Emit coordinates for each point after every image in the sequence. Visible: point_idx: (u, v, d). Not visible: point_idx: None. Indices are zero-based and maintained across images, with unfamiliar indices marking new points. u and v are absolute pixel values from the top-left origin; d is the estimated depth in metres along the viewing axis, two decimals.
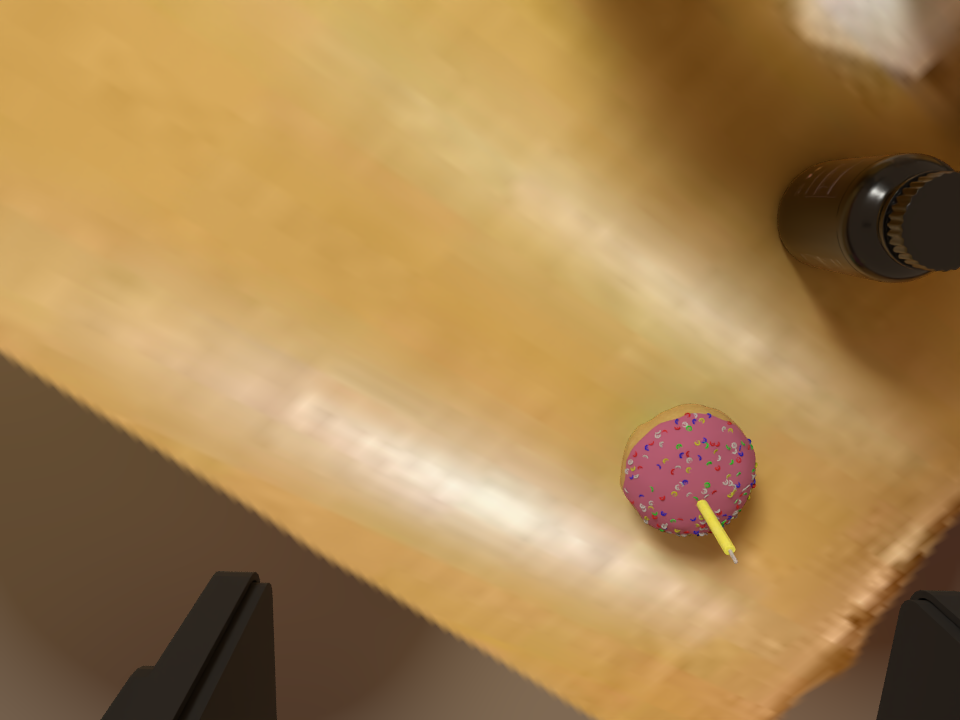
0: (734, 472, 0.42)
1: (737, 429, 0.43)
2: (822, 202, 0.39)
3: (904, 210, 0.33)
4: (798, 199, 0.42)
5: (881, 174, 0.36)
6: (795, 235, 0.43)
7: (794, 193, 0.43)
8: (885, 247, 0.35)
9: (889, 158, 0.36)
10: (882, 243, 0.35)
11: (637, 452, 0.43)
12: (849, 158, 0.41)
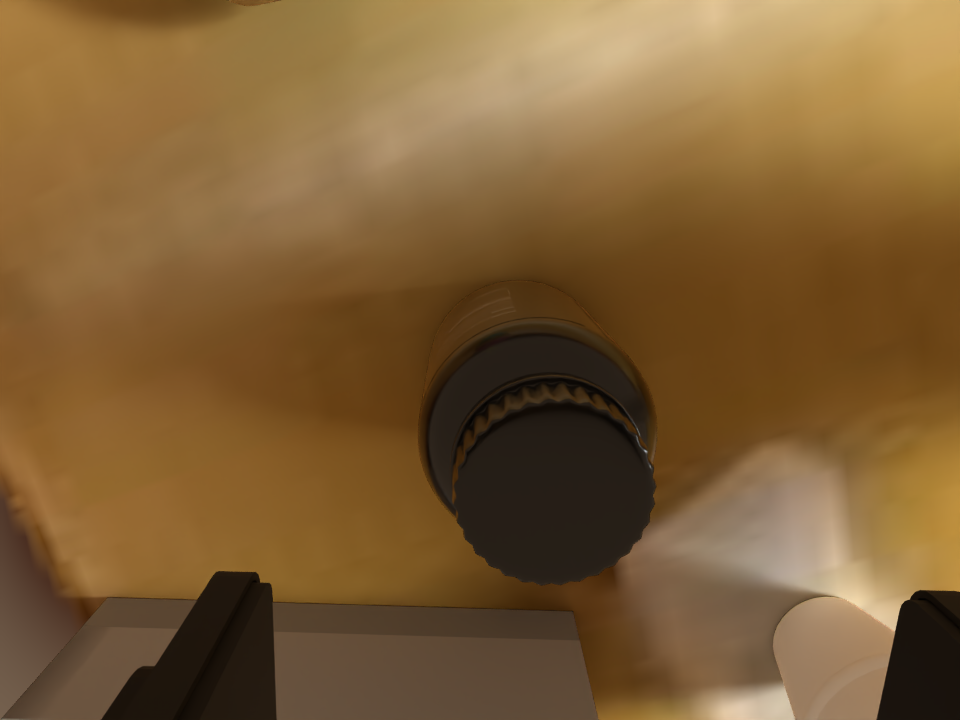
0: None
1: None
2: None
3: (629, 428, 0.16)
4: None
5: (650, 433, 0.19)
6: (545, 291, 0.24)
7: None
8: (553, 374, 0.17)
9: (653, 459, 0.20)
10: (561, 373, 0.17)
11: None
12: None
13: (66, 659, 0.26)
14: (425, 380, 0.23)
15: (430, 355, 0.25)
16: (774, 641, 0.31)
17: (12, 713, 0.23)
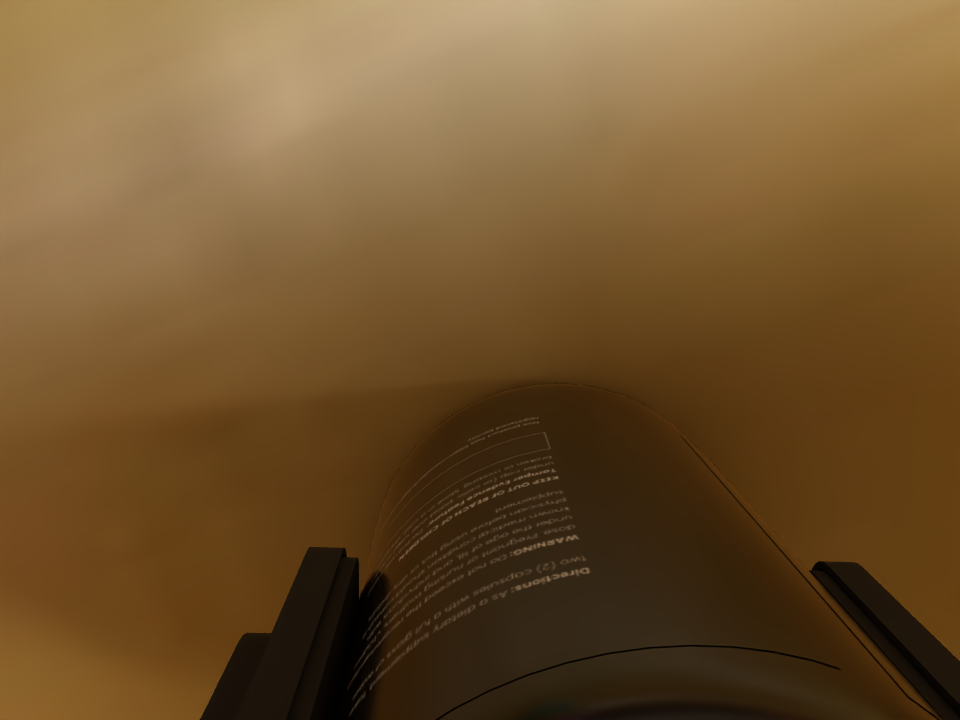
0: None
1: None
2: (847, 613, 0.08)
3: None
4: None
5: None
6: (629, 432, 0.10)
7: None
8: None
9: None
10: None
11: None
12: None
13: None
14: (340, 682, 0.09)
15: (366, 570, 0.11)
16: None
17: None
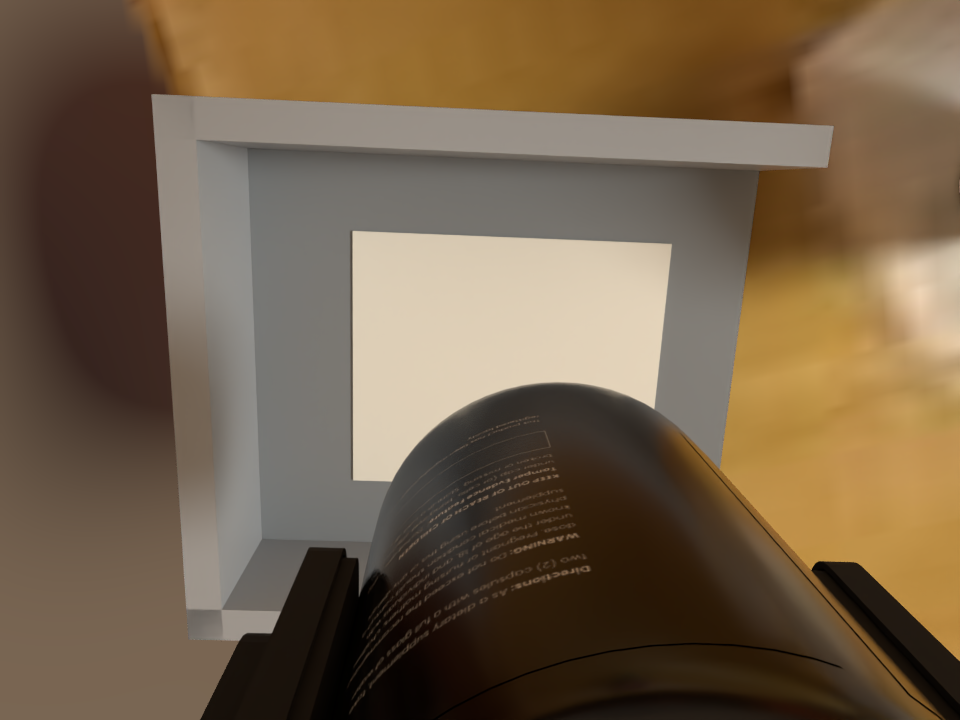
0: None
1: None
2: None
3: None
4: None
5: None
6: (629, 430, 0.10)
7: None
8: None
9: None
10: None
11: None
12: None
13: None
14: None
15: (365, 569, 0.11)
16: None
17: None
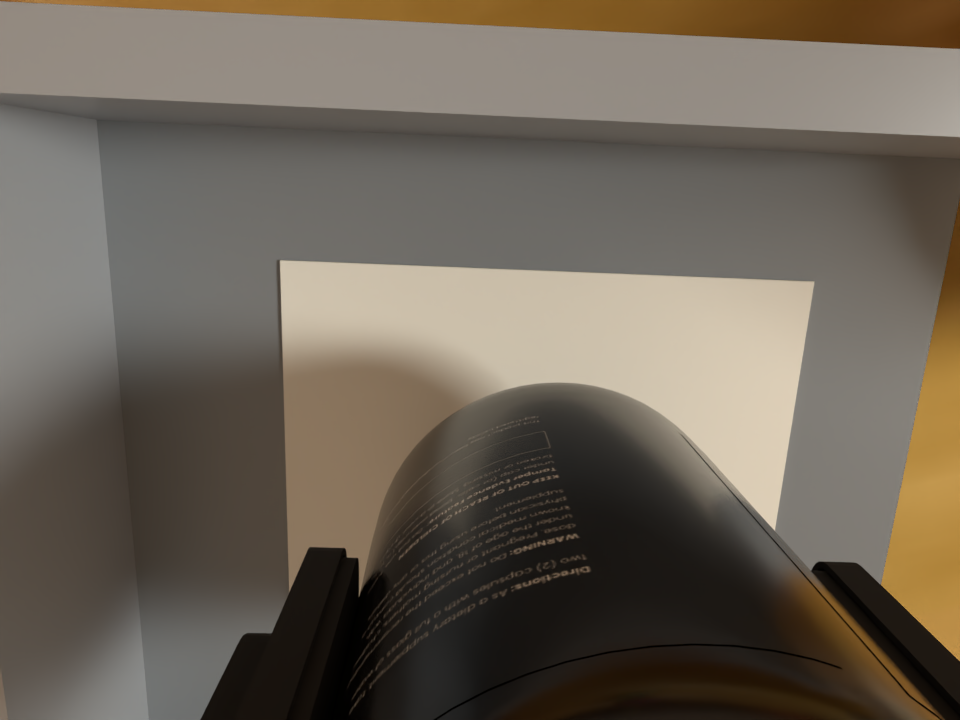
0: None
1: None
2: (848, 612, 0.08)
3: None
4: None
5: None
6: (629, 430, 0.10)
7: None
8: None
9: None
10: None
11: None
12: None
13: None
14: None
15: (365, 569, 0.11)
16: None
17: None
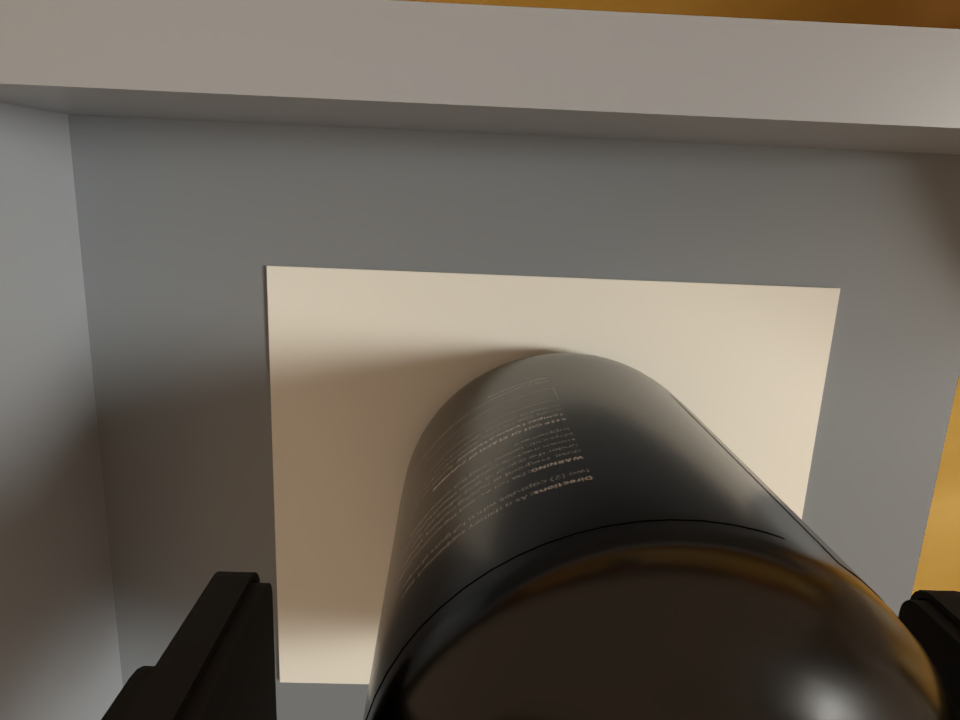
0: None
1: None
2: (802, 521, 0.09)
3: None
4: None
5: None
6: (625, 387, 0.12)
7: None
8: None
9: None
10: None
11: None
12: None
13: None
14: (385, 592, 0.11)
15: (400, 510, 0.13)
16: None
17: None
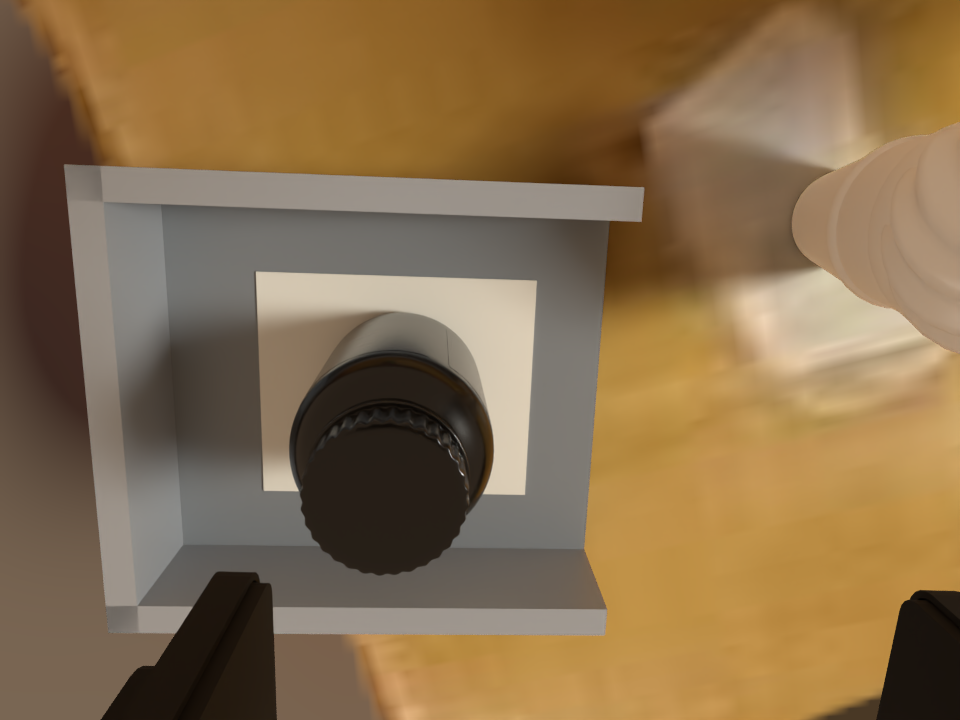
0: None
1: None
2: (463, 366, 0.25)
3: (443, 443, 0.19)
4: (463, 350, 0.28)
5: (483, 446, 0.23)
6: (416, 323, 0.28)
7: (468, 352, 0.29)
8: (387, 399, 0.20)
9: (491, 468, 0.23)
10: (394, 399, 0.21)
11: None
12: None
13: None
14: None
15: None
16: (793, 217, 0.32)
17: (74, 165, 0.24)
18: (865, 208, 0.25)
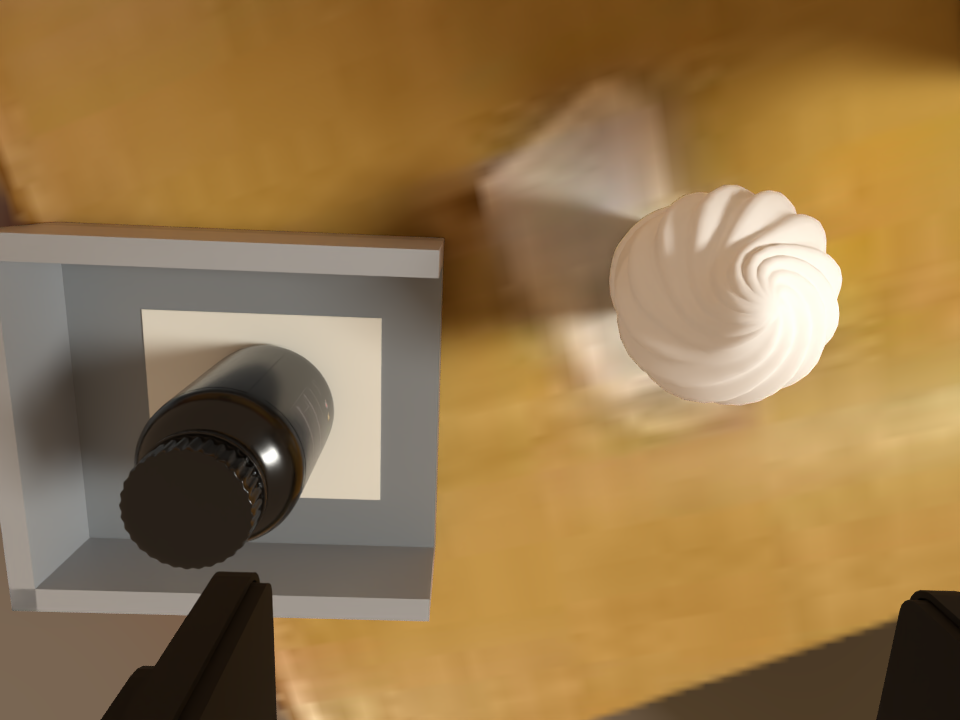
0: None
1: None
2: (289, 397, 0.30)
3: (230, 467, 0.25)
4: (307, 379, 0.33)
5: (288, 466, 0.28)
6: (265, 357, 0.33)
7: (315, 380, 0.34)
8: (195, 431, 0.26)
9: (301, 483, 0.29)
10: (202, 430, 0.26)
11: None
12: (321, 450, 0.34)
13: (16, 227, 0.32)
14: None
15: None
16: None
17: None
18: None
